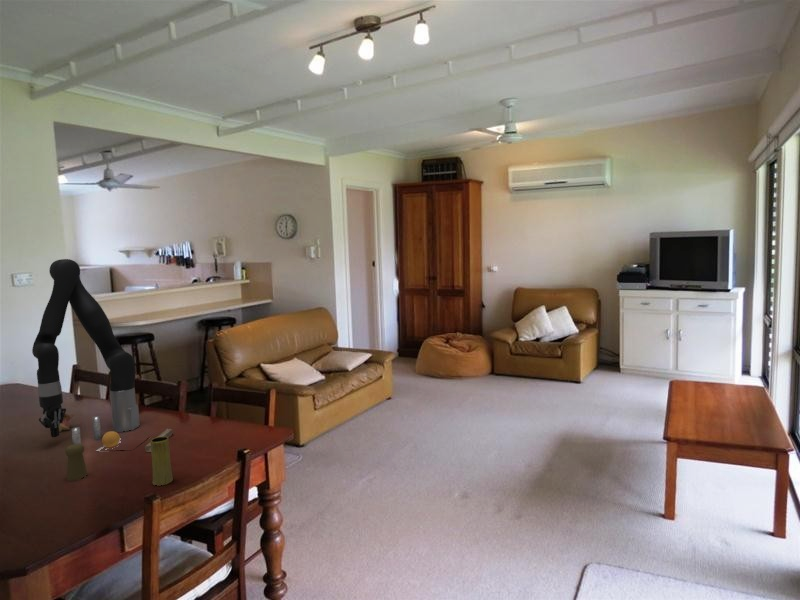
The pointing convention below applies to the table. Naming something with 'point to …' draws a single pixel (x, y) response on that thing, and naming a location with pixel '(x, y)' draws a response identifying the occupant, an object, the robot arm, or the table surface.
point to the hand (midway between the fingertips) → (55, 436)
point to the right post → (97, 427)
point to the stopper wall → (165, 433)
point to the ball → (110, 439)
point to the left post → (76, 435)
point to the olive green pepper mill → (75, 462)
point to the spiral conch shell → (65, 423)
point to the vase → (161, 461)
